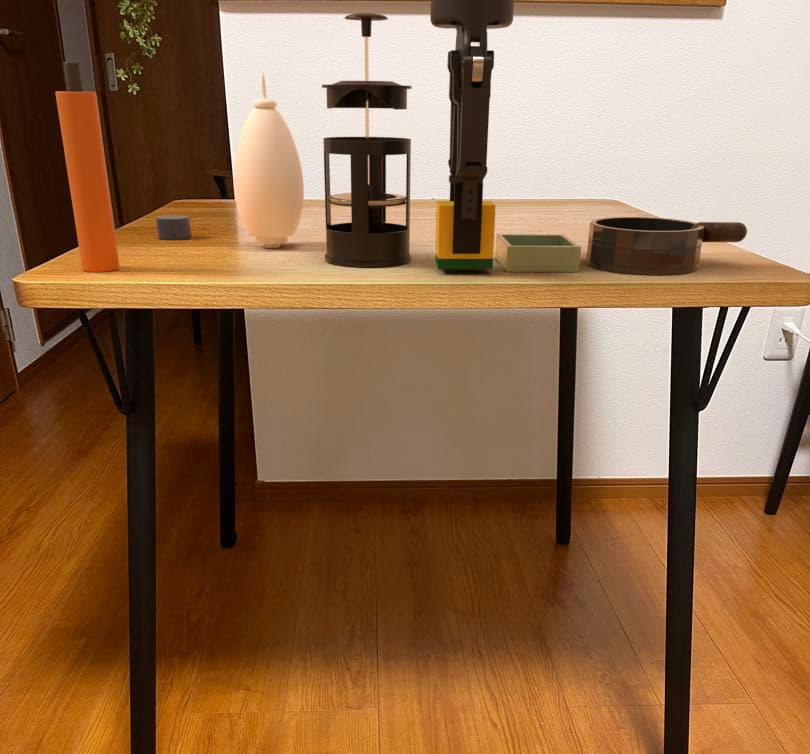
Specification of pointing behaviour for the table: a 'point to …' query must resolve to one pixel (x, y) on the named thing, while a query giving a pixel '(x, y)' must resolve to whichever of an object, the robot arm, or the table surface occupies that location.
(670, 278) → the table surface
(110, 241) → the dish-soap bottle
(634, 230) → the pan
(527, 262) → the sponge dish
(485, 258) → the sponge
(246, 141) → the air blower bulb
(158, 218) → the steel-wool tin
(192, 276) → the table surface
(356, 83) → the french press
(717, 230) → the pan handle
